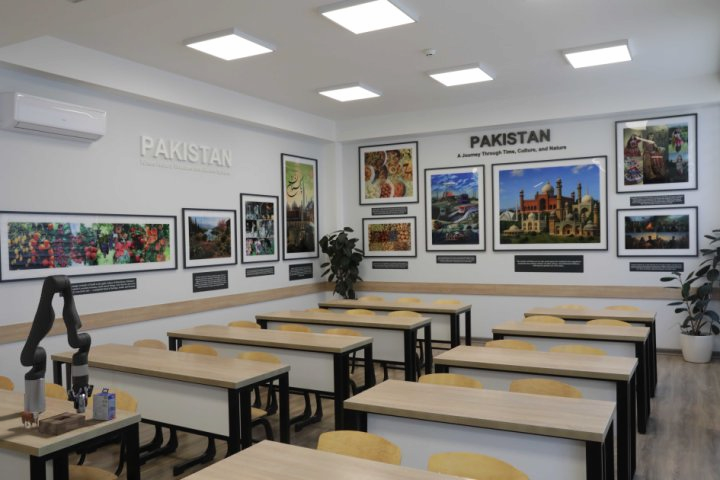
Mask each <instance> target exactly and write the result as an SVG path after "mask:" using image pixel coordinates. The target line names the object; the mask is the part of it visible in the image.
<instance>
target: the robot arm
mask: <svg viewBox="0 0 720 480" xmlns="http://www.w3.org/2000/svg"><path fill="white" fill-rule="evenodd" d="M42 283H43V284H42V288H41V291H40V298H39V301H38V305H37V308H36V311H35V315H34V317H33V320H32V324H31V326H30V327H31V328H30V330H29V334H28V336H27V339H26V341H25V344H24V345H23V347H22V350H21V351H20V356H19V360H20V361H19V362H20V364H21V366H22V367H25V368H29V367H32V368H31V369H29V371H27V372H26V373H24V393H23V400H24V402H23V403H24V404H23V407H24V410H23V411H28V412H38V413H40V412H41V413H43V412H46V408H47V407H46V372H47V352H46V349H45V348H44V346H39V344H40V343H41V342H42V341H43V340H44V339H45V337H46V336H47V335H49V333H50V331H51V330H52V329H53V327H54V322H55V319H56V313H55V309H54V307H53V300H54V296H55V294H61V296H62V298H63V307H62V313H61V314H62V320H63V322H64V326H65V328H66V335H67V336H66V337H67V338H66V339H67V343H68V346H69V347H70V348H71V349H73V350H76V349H78V350H77V351H76V352H74V353H73V354H72V356H71V358H72V359H71V365H72V367H71V384H72V387H71V388H70V390H67V391H66V395H67V398H68V399H69V402H73V409H75V411H76V410H77V409H79V402H78V400H79V397H80V394H84V393H85V408H87V407H88V400H89V398H91V397H92V396H93V391H94V387H95V385H94V384H89V382H90V381H89V379H90V376H89V375H90V372H89V370H90V369H89V352H90V349H91V345H92V336H91V335H90V334H89V333H88V332H80V333H79V332H78V330H80V329H81V328H82V327H83V324H82V321H81V318H80V316H79V314H78V311H77V307H76V302H75V297H74V293H73V287H72V283H71V280H70V278H69V277H68V275H66V274H53V275H47V276H46V277H45V278H44V280H43V282H42ZM76 394H77V395H76Z"/></svg>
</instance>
